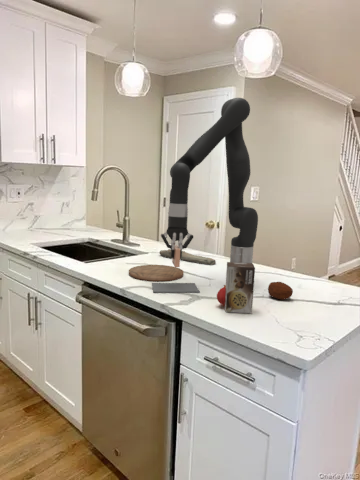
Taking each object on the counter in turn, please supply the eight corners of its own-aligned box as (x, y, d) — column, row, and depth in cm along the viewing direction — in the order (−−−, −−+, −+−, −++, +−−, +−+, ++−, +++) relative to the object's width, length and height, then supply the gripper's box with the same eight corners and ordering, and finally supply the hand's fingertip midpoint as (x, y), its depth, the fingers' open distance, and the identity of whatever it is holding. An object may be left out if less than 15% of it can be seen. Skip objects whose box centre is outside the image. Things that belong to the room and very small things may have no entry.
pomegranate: (223, 302, 139) (224, 281, 138) (236, 307, 135) (237, 285, 134) (212, 306, 135) (214, 284, 133) (226, 310, 131) (227, 288, 130)
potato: (275, 293, 153) (277, 278, 152) (295, 300, 146) (297, 284, 145) (264, 296, 149) (265, 280, 147) (284, 303, 141) (285, 286, 140)
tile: (179, 267, 148) (180, 249, 147) (174, 267, 148) (175, 249, 147) (176, 262, 157) (177, 245, 156) (172, 261, 157) (172, 245, 156)
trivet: (177, 284, 161) (177, 280, 161) (120, 279, 165) (120, 275, 165) (187, 271, 185) (188, 267, 185) (138, 266, 190) (138, 263, 189)
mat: (194, 284, 161) (194, 282, 161) (199, 292, 150) (199, 291, 150) (151, 284, 159) (151, 282, 159) (153, 293, 147) (153, 291, 147)
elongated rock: (209, 269, 195) (218, 267, 203) (210, 259, 194) (219, 257, 203) (154, 255, 214) (165, 254, 222) (155, 246, 213) (166, 245, 221)
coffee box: (249, 307, 135) (253, 262, 133) (252, 313, 129) (256, 267, 126) (223, 305, 136) (226, 261, 133) (224, 312, 129) (228, 265, 127)
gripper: (161, 215, 145) (159, 260, 148) (196, 216, 147) (194, 260, 150) (159, 213, 152) (158, 256, 155) (193, 214, 154) (191, 256, 157)
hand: (176, 258), depth 152 cm, fingers closed on tile, 1 cm apart
